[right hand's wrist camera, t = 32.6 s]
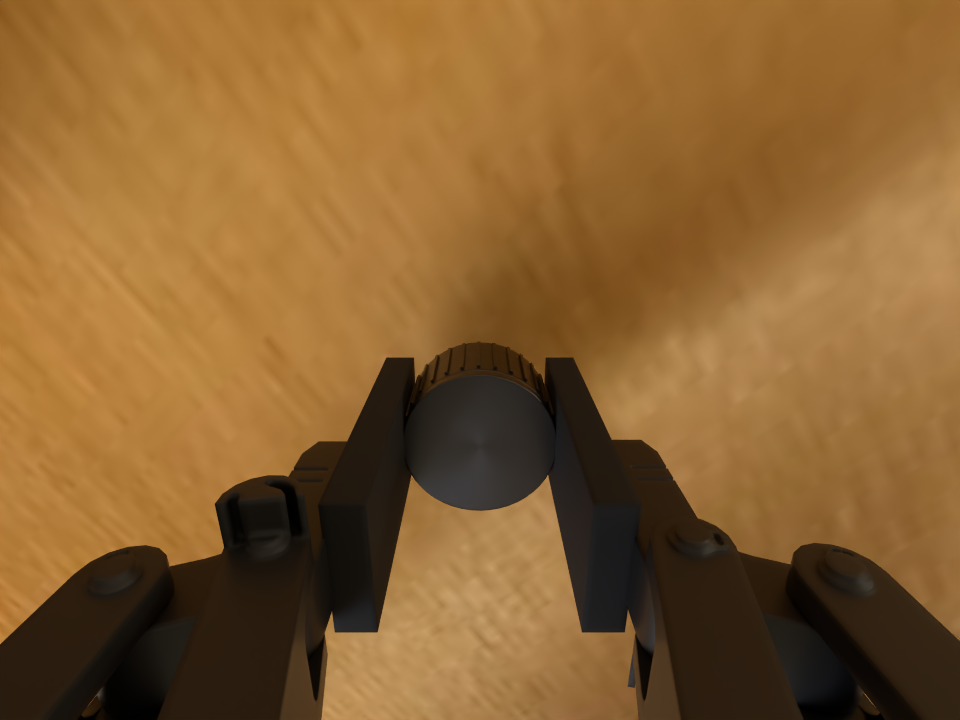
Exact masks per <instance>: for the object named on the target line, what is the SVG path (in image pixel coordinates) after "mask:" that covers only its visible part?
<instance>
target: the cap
mask: <svg viewBox="0 0 960 720" xmlns="http://www.w3.org/2000/svg"><path fill="white" fill-rule="evenodd" d="M553 417H554V411H553V408H552V404H551V401H550V398H549V394H548V391H547V387H546V386H544V383H543V379H542V376H541V374H538V373H537V371H536V370H535V368H534V366H533V364H532V363H529V362H528V361H527V360H526V359H525V358H524V357H523V355H522V354H518V353H516V352H515V351H513V350H510V348H509V347H507V348H506V347H503V346H500V345H496V344H495V343H492V344H491V343H480V342H477V343H469V344H465V343H463V344H462V345H460V346H457V347H454V348H448V350H447V351H445V352H443V353H442V354H440V355H436V357H435V359H434V360H433V361H431V362H430V363H429V364H426V365H425V368H424V371H423V372H422V374H421V375H418V377H417V380H416V383H415V387H414V388H413V391H412V395H411V398H410V402H409V405H408V409H407V412H406V422H405V426H404V450H405V462H406V465H407V467H408V469H409V471H410V473H411V474H412V476H413V478H414V479H415V480H416V482H417V483H418V484H419V485H420V486H421V487H422V488H423V489H424V490H425V491H426V492H427V493H429V494H430V495H431V496H433V497H434V498H436V499H438V500H440V501H441V502H443V503H446V504H448V505H451V506H454V507H457V508H461V509H467V510H480V511H481V510H493V509H498V508H502V507H506V506H509V505H511V504H514V503H516V502H518V501H520V500H522V499H524V498H525V497H527V496H528V495H530V494H531V493H532V492H534V491H535V490H536V489H537V488H538V487H539V486H540V485H541V484H542V482H543V481H544V480H545V479H546V477H547V475H548V474H549V472H550V470H551V468H552V466H553V464H554V460H555V444H556V427H555V424H554V420H553Z"/></svg>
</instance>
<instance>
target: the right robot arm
mask: <svg viewBox="0 0 960 720" xmlns="http://www.w3.org/2000/svg"><path fill="white" fill-rule="evenodd" d="M544 386H546V387H547V391H548V394H549V398H550V401H551V404H552V408H553V411H554V417H553V420H554V424H555V427H556V444H555V460H554V464H553V466H552V468H551V470H550V472H549V474H548V476H549V481H550V485H551V490H552V495H553V499H554V504H555V509H556V513H557V518H558V523H559V527H560V532H561V537H562V541H563V546H564V551H565V555H566V560H567V564H568V569H569V574H570V578H571V583H572V588H573V592H574V597H575V602H576V606H577V611H578V616H579V620H580V625H581V629H582V632H625V627H626V619H627V612H628V611H629V614H630V617H631V620H632V623H633V626H634V629H635V632H636V634H635V641H634V647H633V654H632V661H631V668H630V675H629V682H628V687H634V688H635V685H636V695H637V706H638V716H639V720H960V641H959V640H958V639H957V638H956V637H955V636H954V635H953V634H952V633H951V632H950V631H948V630H947V629H946V628H945V627H944V626H943V625H942V624H941V623H940V622H939V621H938V620H937V619H936V618H935V617H934V616H933V615H932V614H930V613H929V612H928V611H927V610H926V609H925V608H924V607H923V606H922V605H921V604H920V603H919V602H918V601H917V600H916V599H915V598H914V597H912V596H911V595H910V594H909V593H908V592H907V591H906V590H905V589H904V588H903V587H902V586H901V585H900V584H899V583H898V582H897V581H896V580H894V579H893V578H892V577H891V576H890V575H889V574H888V573H887V572H886V571H885V570H883V569H882V568H881V567H879V566H878V565H877V564H875V563H874V562H873V561H871V560H870V559H868V558H866V557H864V556H862V555H860V554H858V553H856V552H854V551H852V550H848V549H845V548H842V547H838V546H835V545H830V544H819V543H812V544H808V545H803V546H801V547H799V548H798V549H797V550H796V551H795V552H794V554H793V557H792V561H791V564H786V563H781V562H777V561H772V560H768V559H763V558H759V557H754V556H751V555H747V554H744V553H741V552H738V551H737V548H736V546H735V545H734V543H733V542H732V540H731V539H730V537H729V536H728V535H727V534H726V533H724V532H723V531H722V530H720V529H719V528H718V527H717V526H715V525H712V524H710V523H708V522H706V521H704V520H701V519H698V518H697V516H696V515H695V513H694V511H693V510H692V508H691V506H690V505H689V503H688V502H687V500H686V498H685V497H684V495H683V493H682V492H681V490H680V488H679V487H678V485H677V483H676V482H675V481H673V477H672V475H671V473H670V472H669V470H668V469H666V465H665V464H664V462H663V460H662V459H661V457H660V455H659V454H658V452H657V451H656V450H654V449H653V448H651V447H650V446H649V445H647V444H646V443H645V442H643V441H642V440H611V438H610V435H609V433H608V431H607V429H606V427H605V425H604V423H603V420H602V418H601V416H600V414H599V412H598V410H597V408H596V406H595V403H594V401H593V399H592V397H591V395H590V393H589V391H588V388H587V386H586V384H585V382H584V380H583V378H582V376H581V373H580V371H579V369H578V367H577V365H576V363H575V361H574V358H546V363H545V384H544ZM414 387H415V370H414V358H386V360H385V362H384V364H383V366H382V368H381V371H380V373H379V375H378V377H377V379H376V381H375V383H374V386H373V388H372V390H371V392H370V394H369V396H368V398H367V400H366V403H365V405H364V407H363V409H362V411H361V413H360V415H359V418H358V420H357V422H356V424H355V426H354V428H353V430H352V433H351V435H350V437H349V439H348V441H347V442H317V443H316V444H315V445H313V446H312V447H311V448H309V449H308V450H307V451H305V452H304V453H303V454H302V455H301V457H300V458H299V460H298V462H297V463H296V465H295V467H294V470H292V472H291V473H290V475H289V477H287V476H274V475H268V476H263V477H258V478H253V479H250V480H247V481H245V482H242V483H240V484H237V485H235V486H234V487H232V488H231V489H229V490H228V491H226V492H225V493H223V494H222V495H221V497H220V498H219V499H218V500H217V502H216V503H215V507H216V512H217V516H218V521H219V526H220V530H221V535H222V539H223V544H224V549H223V552H222V554H219V555H216V556H213V557H209V558H206V559H202V560H197V561H193V562H188V563H184V564H179V565H175V566H169V563H168V559H167V555H166V554H165V553H164V552H163V551H162V550H160V549H159V548H156V547H151V546H147V545H144V546H133V547H126V548H123V549H120V550H116V551H113V552H110V553H107V554H105V555H103V556H101V557H99V558H97V559H95V560H93V561H91V562H90V563H88V564H87V565H86V566H84V567H83V568H82V569H80V570H79V571H78V572H76V573H75V574H74V575H73V576H72V577H71V578H70V579H68V580H67V581H66V582H65V583H64V584H63V585H62V586H61V587H60V588H59V589H58V590H57V591H56V592H55V593H54V594H53V595H52V596H51V597H50V598H49V599H47V600H46V601H45V602H44V603H43V604H42V605H41V606H40V607H39V608H38V609H37V610H36V611H35V612H34V613H33V614H32V615H31V616H30V617H29V618H27V619H26V620H25V621H24V622H23V623H22V624H21V625H20V626H19V627H18V628H17V629H16V630H15V631H14V632H13V633H12V634H11V635H10V636H9V637H8V638H6V639H5V640H4V641H3V642H2V643H1V644H0V720H321V717H322V707H323V697H324V686H325V676H326V666H327V655H328V654H327V647H326V641H325V634H324V633H325V630H326V627H327V624H328V621H329V618H330V615H331V612H332V614H333V622H334V629H335V632H378V628H379V623H380V619H381V614H382V609H383V605H384V600H385V595H386V591H387V586H388V581H389V577H390V572H391V568H392V563H393V558H394V554H395V549H396V544H397V540H398V535H399V530H400V526H401V521H402V516H403V512H404V507H405V503H406V498H407V493H408V489H409V484H410V479H411V475H412V474H411V473H410V471H409V469H408V467H407V465H406V462H405V450H404V426H405V422H406V412H407V409H408V405H409V402H410V398H411V395H412V391H413V388H414ZM863 692H864V693H865V694H866V695H867V697H868V698H869V699H870V700H871V702H872V703H873V704H874V705H873V704H872V703H871V702H870V701H869V699H868V698H867V697H866V696H865V694H864V693H863ZM95 696H96V697H95ZM94 697H95V698H94ZM92 700H93V701H92ZM91 701H92V702H91ZM90 702H91V703H90ZM89 704H90V705H89ZM88 705H89V706H88ZM87 706H88V707H87Z"/></svg>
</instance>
